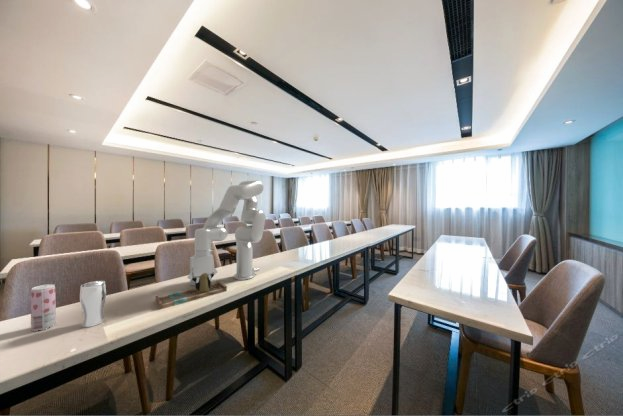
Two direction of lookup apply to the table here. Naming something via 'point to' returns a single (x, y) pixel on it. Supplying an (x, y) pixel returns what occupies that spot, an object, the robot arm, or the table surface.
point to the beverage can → (43, 307)
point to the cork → (203, 284)
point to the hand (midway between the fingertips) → (203, 288)
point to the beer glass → (92, 302)
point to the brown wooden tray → (183, 300)
